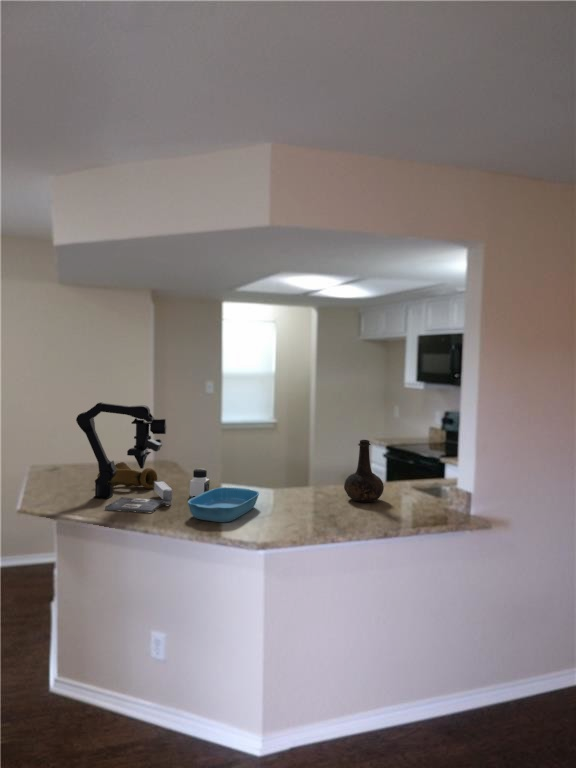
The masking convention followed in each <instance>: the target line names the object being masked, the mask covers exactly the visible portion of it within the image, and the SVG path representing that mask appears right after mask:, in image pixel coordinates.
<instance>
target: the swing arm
mask: <svg viewBox="0 0 576 768" xmlns="http://www.w3.org/2000/svg"><path fill="white" fill-rule="evenodd" d="M153 491H154V493H156V495H158V496H159V497H160V498H161V500H165V501H169V500H171V501H172V500H173V489H172V488H171V487H170V486H169V485H168V484H167V483H166V482H165V481H164V480H157V481H154V487H153Z"/></svg>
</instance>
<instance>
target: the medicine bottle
mask: <svg viewBox="0 0 576 768" xmlns="http://www.w3.org/2000/svg"><path fill="white" fill-rule="evenodd" d="M207 471H208V470H207V469H205V468H195V469H193V471H192V472H193V475H192V476H193V477H192V479H191V480H189V497H193V496H198V495H200V494H202V493H204V492H207V491H209V490H210V478H207V476H208V475H207V473H208V472H207Z"/></svg>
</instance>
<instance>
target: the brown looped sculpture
mask: <svg viewBox="0 0 576 768" xmlns="http://www.w3.org/2000/svg"><path fill="white" fill-rule="evenodd" d="M115 466H116V468H117V469H116V475H115V476H114V477H113V478H112V479H111V481H110V483H112V486H113V488H114V487H116V486H124V487H126V486H127V487H143V488H145V489H147V490H151V489H154V481H158V474H157V472H156V471H155V470H154V469H153V468H151V467H146V468H143V470H142V471H139V470H136V469H135V470H134V469H132V468H131V467H129V466H128V465H127V464H126V463H125V462H124V461H120V462H117V463H115ZM96 475H97V478H98V477H99V476H100V473H99V472H98V473H97V474H96ZM150 488H151V489H150Z"/></svg>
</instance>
